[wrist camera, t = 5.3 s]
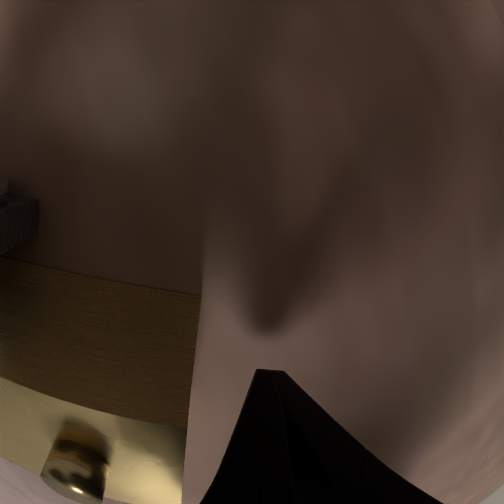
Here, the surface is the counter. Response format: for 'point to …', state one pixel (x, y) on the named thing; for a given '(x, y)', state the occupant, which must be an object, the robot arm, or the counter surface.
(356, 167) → the counter surface
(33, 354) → the brass block with pegs
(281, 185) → the counter surface
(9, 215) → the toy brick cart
